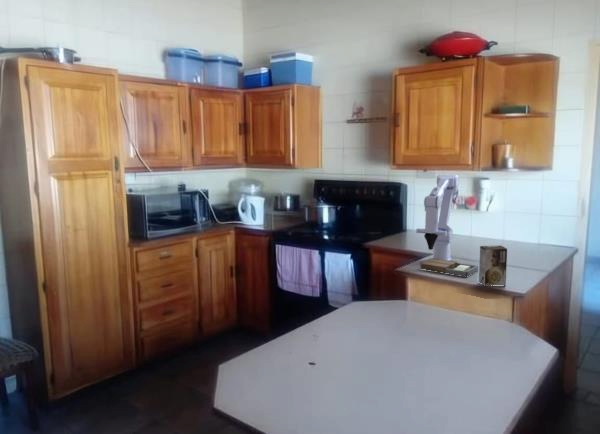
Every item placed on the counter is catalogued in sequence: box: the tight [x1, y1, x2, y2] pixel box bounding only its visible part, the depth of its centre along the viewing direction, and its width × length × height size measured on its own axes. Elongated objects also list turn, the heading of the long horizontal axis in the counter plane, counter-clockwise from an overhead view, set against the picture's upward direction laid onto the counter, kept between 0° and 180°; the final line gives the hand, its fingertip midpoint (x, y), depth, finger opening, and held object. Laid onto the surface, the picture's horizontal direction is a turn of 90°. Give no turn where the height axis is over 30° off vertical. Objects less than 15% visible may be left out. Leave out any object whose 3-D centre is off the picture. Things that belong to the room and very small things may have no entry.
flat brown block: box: [420, 257, 458, 273], centre depth 225 cm, size 14×12×3 cm
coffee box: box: [478, 245, 508, 287], centre depth 198 cm, size 9×6×16 cm
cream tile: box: [457, 265, 470, 271], centre depth 220 cm, size 4×4×2 cm
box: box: [446, 262, 479, 278], centre depth 218 cm, size 14×10×2 cm
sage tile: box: [453, 267, 467, 271], centre depth 216 cm, size 4×4×2 cm
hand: (430, 249), depth 227 cm, fingers closed
